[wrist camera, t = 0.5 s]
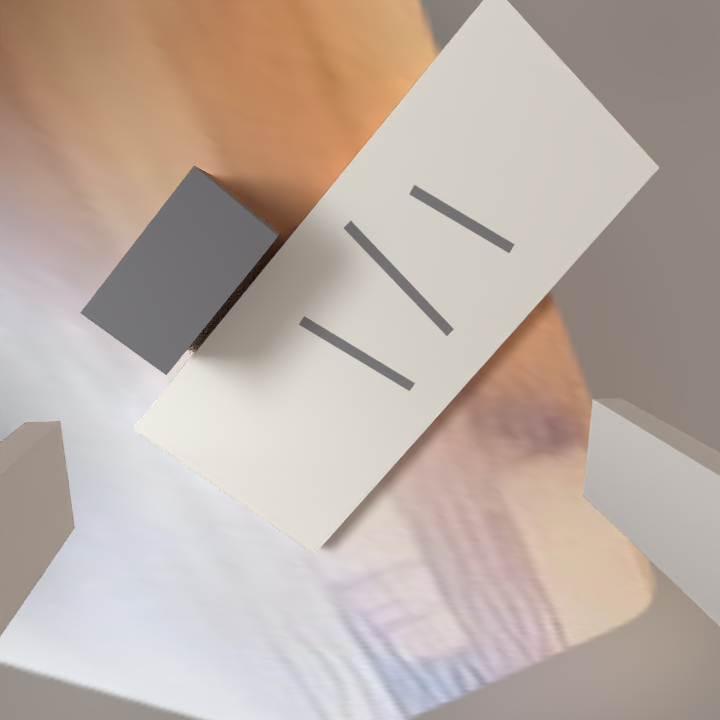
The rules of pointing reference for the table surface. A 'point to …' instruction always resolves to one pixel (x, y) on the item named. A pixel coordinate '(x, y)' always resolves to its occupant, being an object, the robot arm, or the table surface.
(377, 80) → the table surface
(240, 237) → the block
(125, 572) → the table surface
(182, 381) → the board
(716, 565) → the robot arm
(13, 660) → the table surface
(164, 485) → the table surface
